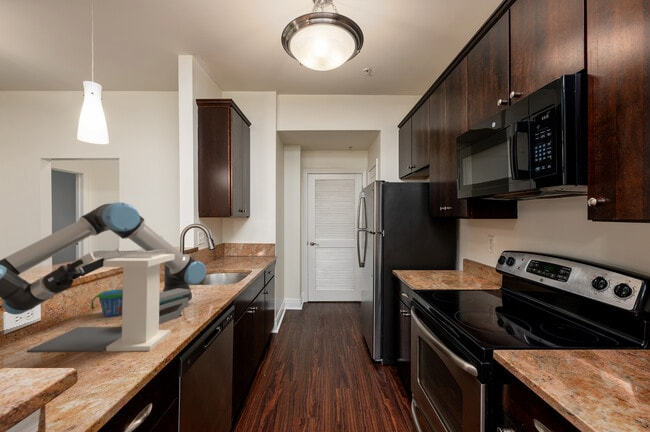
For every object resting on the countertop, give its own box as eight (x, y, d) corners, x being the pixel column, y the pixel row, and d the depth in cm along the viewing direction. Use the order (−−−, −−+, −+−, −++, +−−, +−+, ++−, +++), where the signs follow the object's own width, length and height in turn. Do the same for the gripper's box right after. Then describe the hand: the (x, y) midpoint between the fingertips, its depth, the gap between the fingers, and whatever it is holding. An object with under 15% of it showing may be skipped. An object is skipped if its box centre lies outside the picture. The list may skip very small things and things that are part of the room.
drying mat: (26, 352, 93) (26, 350, 93) (77, 328, 113) (77, 327, 113) (103, 351, 94) (103, 349, 94) (140, 328, 114) (140, 326, 114)
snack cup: (87, 320, 122) (88, 296, 122) (95, 313, 131) (96, 290, 131) (131, 315, 128) (131, 293, 128) (135, 309, 138) (136, 287, 138)
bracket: (93, 257, 99) (93, 251, 99) (113, 254, 109) (113, 248, 109) (151, 257, 100) (151, 252, 100) (166, 254, 110) (166, 249, 110)
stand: (101, 354, 92) (103, 260, 92) (136, 332, 110) (137, 253, 110) (146, 353, 92) (147, 260, 93) (173, 331, 110) (174, 254, 111)
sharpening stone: (135, 332, 109) (136, 304, 109) (122, 329, 112) (123, 301, 112) (190, 313, 132) (190, 289, 132) (178, 311, 135) (178, 288, 135)
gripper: (87, 285, 112) (135, 257, 113) (22, 303, 87) (84, 268, 88) (77, 268, 112) (125, 241, 113) (9, 282, 87) (72, 247, 88)
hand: (107, 253), depth 100 cm, fingers open, 13 cm apart
